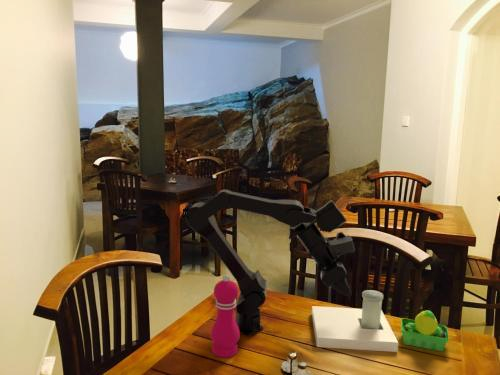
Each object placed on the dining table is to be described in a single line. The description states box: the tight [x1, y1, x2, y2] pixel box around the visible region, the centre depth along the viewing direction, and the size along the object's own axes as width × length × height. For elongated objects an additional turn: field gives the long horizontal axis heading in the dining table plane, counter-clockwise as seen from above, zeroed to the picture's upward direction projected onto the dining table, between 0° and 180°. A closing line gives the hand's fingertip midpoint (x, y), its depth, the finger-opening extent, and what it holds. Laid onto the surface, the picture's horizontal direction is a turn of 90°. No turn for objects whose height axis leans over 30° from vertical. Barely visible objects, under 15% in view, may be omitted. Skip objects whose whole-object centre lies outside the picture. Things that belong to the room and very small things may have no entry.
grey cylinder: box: [361, 289, 384, 330], centre depth 116 cm, size 5×5×11 cm
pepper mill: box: [210, 274, 241, 359], centre depth 106 cm, size 7×7×20 cm
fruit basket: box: [400, 309, 450, 352], centre depth 111 cm, size 11×9×11 cm
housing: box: [311, 305, 399, 353], centre depth 117 cm, size 20×18×4 cm
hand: (348, 288), depth 114 cm, fingers open, 9 cm apart
